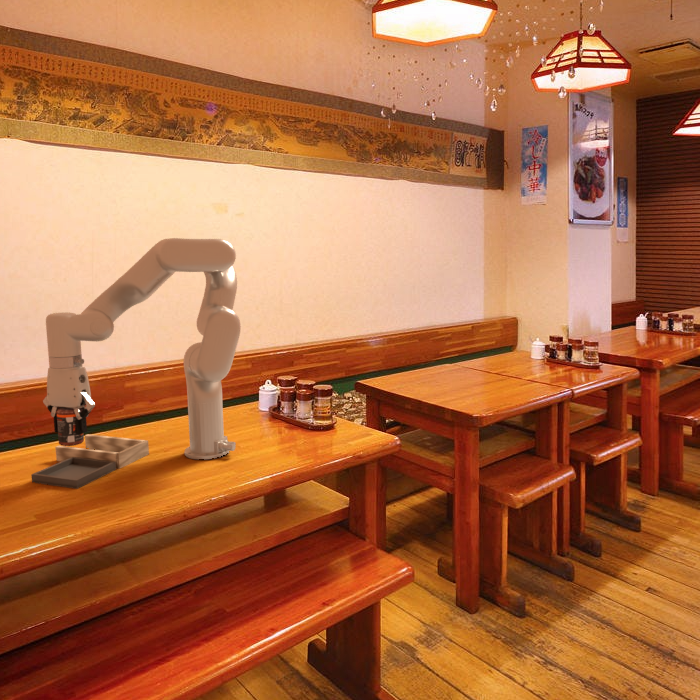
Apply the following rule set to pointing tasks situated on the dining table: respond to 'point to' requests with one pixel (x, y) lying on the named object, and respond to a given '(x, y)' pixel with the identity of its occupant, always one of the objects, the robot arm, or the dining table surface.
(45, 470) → the tray
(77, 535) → the dining table surface
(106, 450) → the bay
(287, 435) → the dining table surface
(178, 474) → the dining table surface
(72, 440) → the supplement bottle
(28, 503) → the dining table surface
